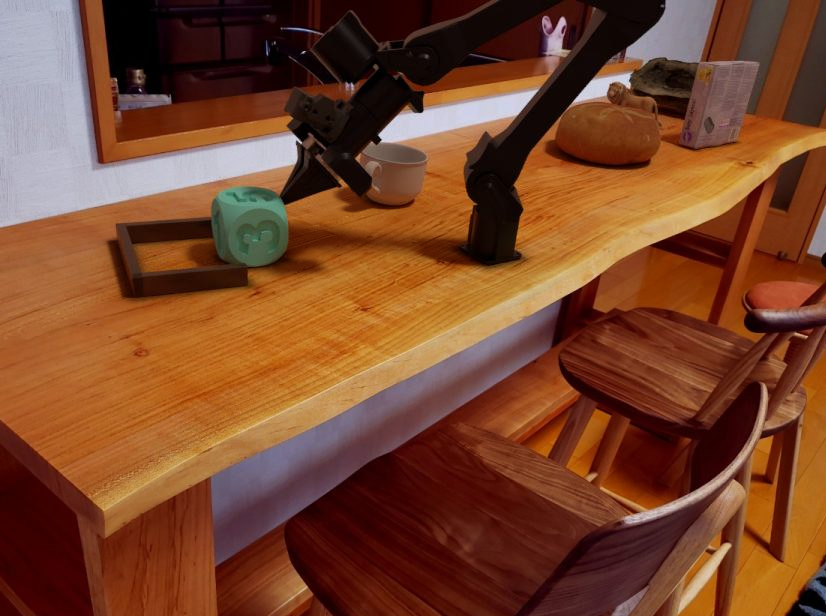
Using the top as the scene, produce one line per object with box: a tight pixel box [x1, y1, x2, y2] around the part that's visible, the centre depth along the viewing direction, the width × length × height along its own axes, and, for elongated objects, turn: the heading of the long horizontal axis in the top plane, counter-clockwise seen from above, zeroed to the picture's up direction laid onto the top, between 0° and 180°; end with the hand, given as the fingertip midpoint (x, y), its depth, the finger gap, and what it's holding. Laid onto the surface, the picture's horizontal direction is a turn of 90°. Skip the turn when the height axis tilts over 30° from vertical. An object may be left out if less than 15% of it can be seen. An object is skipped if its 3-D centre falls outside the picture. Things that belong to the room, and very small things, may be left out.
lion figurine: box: [606, 81, 663, 127], centre depth 181 cm, size 15×5×9 cm, turn 62°
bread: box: [554, 101, 662, 166], centre depth 153 cm, size 23×23×10 cm
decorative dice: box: [210, 185, 290, 268], centre depth 96 cm, size 8×8×8 cm
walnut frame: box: [114, 216, 249, 298], centre depth 94 cm, size 13×17×2 cm
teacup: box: [359, 141, 429, 206], centre depth 118 cm, size 14×11×8 cm
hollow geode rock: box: [628, 56, 699, 115], centre depth 196 cm, size 28×13×15 cm
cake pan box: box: [678, 60, 761, 150], centre depth 167 cm, size 19×5×18 cm, turn 128°
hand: (281, 202), depth 96 cm, fingers closed, pressing on decorative dice
